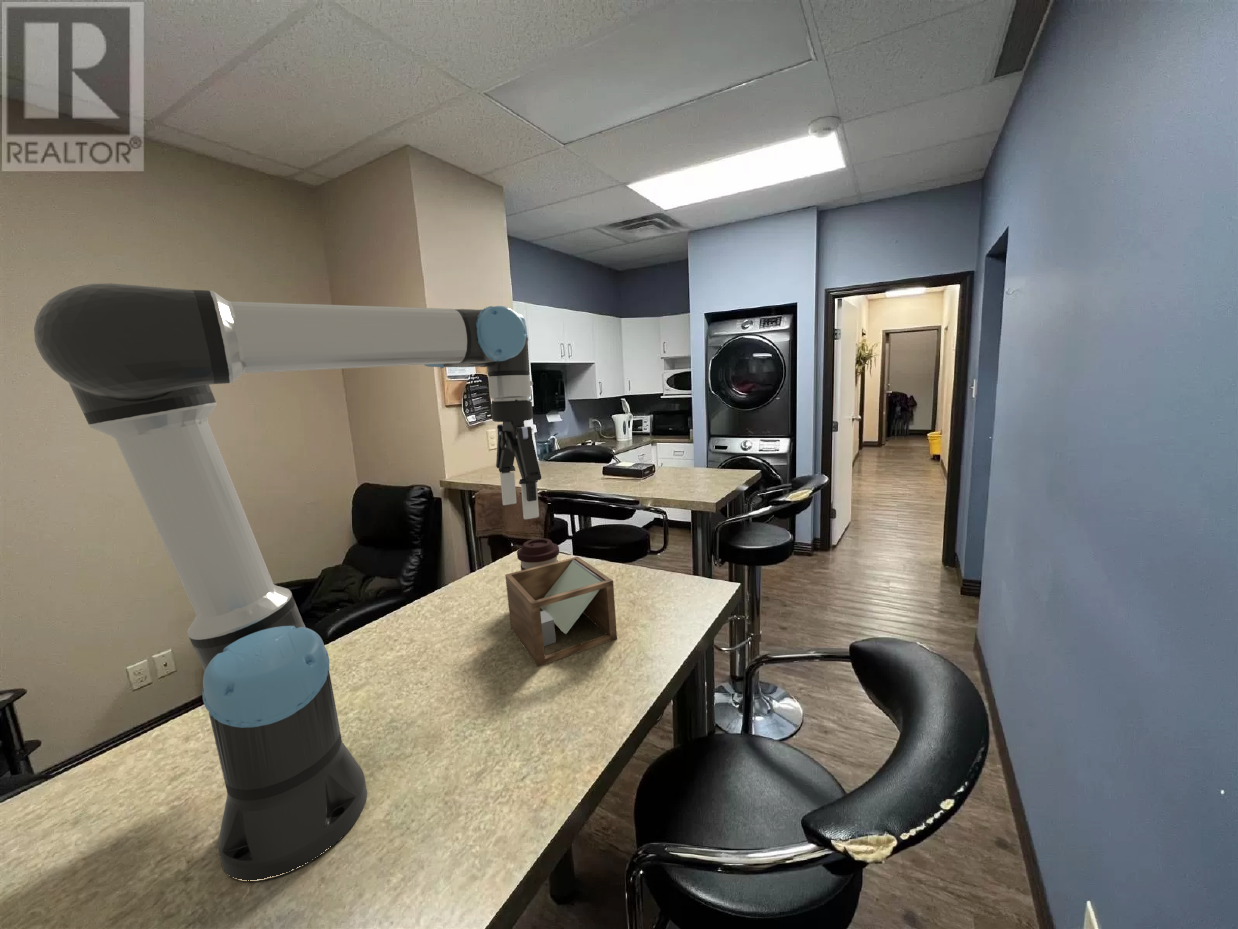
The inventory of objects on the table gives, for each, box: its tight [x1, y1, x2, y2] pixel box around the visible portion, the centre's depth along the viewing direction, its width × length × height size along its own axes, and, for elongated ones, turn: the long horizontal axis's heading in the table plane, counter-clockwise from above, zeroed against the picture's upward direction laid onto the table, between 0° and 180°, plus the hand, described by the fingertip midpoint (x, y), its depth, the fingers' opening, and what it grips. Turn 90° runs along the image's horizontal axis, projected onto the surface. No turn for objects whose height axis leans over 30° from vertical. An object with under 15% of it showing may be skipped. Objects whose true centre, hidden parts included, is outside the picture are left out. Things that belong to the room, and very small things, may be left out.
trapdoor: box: [540, 560, 604, 635], centre depth 101 cm, size 12×14×1 cm
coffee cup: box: [516, 537, 560, 571], centre depth 115 cm, size 10×10×15 cm
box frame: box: [504, 556, 618, 667], centre depth 100 cm, size 17×17×12 cm
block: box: [540, 610, 557, 647], centre depth 98 cm, size 5×5×5 cm
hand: (519, 510), depth 92 cm, fingers open, 13 cm apart
